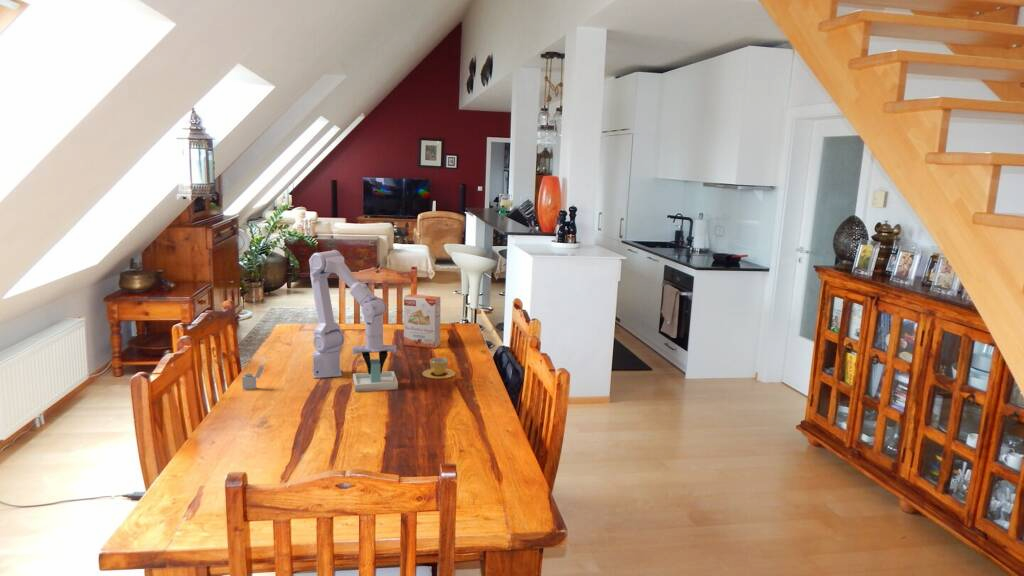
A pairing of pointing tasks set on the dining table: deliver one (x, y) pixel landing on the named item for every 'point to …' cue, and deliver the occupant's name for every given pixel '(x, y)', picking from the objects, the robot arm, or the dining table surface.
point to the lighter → (251, 379)
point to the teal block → (375, 371)
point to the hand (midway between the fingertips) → (374, 372)
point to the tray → (365, 384)
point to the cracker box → (422, 321)
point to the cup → (438, 369)
